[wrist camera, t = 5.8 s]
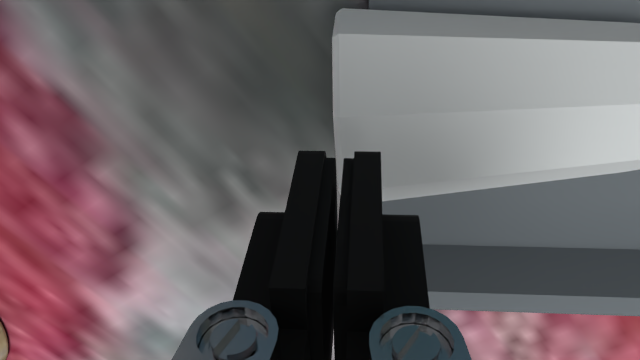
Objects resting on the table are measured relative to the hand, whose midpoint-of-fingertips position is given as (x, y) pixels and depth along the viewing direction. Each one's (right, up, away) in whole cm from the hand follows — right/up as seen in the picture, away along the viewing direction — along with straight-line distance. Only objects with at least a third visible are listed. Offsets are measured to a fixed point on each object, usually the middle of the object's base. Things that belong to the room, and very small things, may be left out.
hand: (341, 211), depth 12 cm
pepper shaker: (0, +3, +4) cm, 5 cm away
